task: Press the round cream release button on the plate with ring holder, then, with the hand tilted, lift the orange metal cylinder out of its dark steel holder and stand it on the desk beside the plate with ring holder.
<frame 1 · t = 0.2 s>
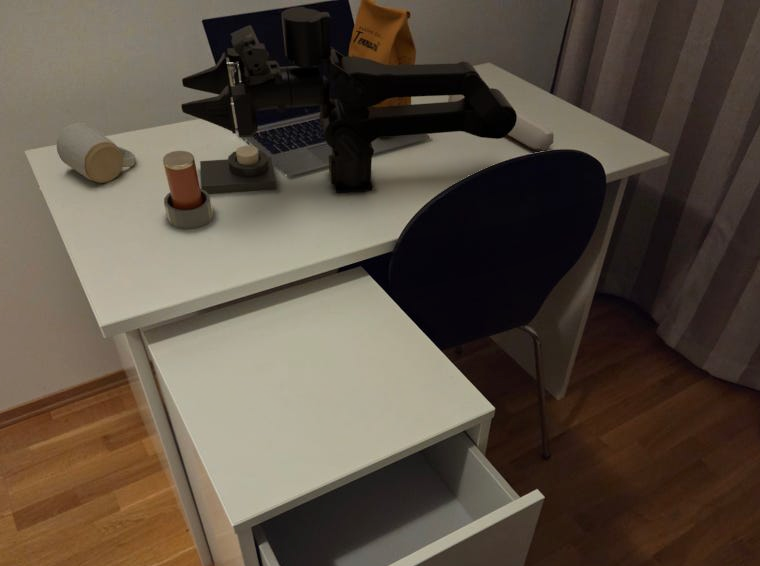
hand: (182, 95, 94), 16 cm above the table, tool horizontal, fingers open, 9 cm apart
plate with ring holder: (238, 180, 109), on the table
capsule holder: (191, 218, 101), on the table
orange metal cylinder: (190, 216, 100), resting on capsule holder
release button: (247, 155, 107), point 4 cm above the table, slide at 0.1 cm
tube: (499, 129, 128), on the table
ceramic mug: (104, 171, 108), on the table
coffee package: (377, 123, 126), on the table
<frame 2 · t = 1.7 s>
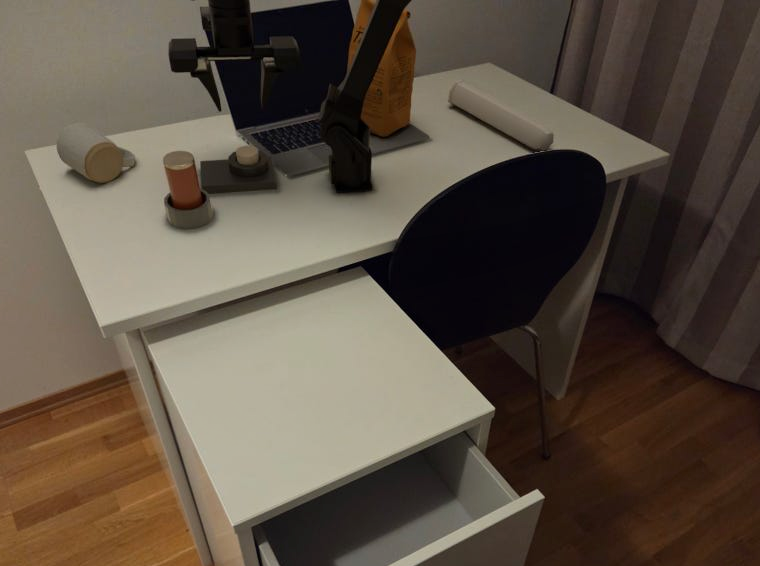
hand: (241, 109, 101), 12 cm above the table, tool pointing down, fingers open, 6 cm apart
nothing on the table moved.
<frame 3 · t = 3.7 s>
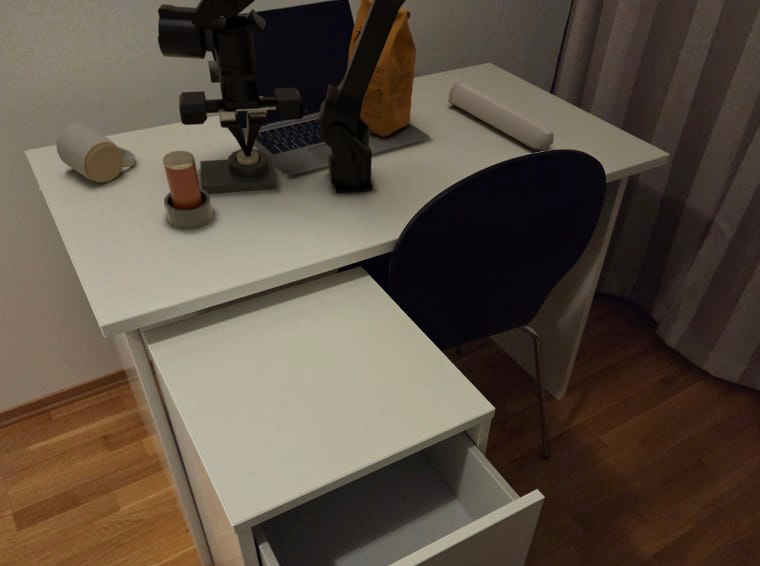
hand: (247, 155, 107), 4 cm above the table, tool pointing down, fingers closed, pressing on release button
release button: (248, 159, 107), point 3 cm above the table, slide at -0.6 cm, touching gripper
everything else where it was.
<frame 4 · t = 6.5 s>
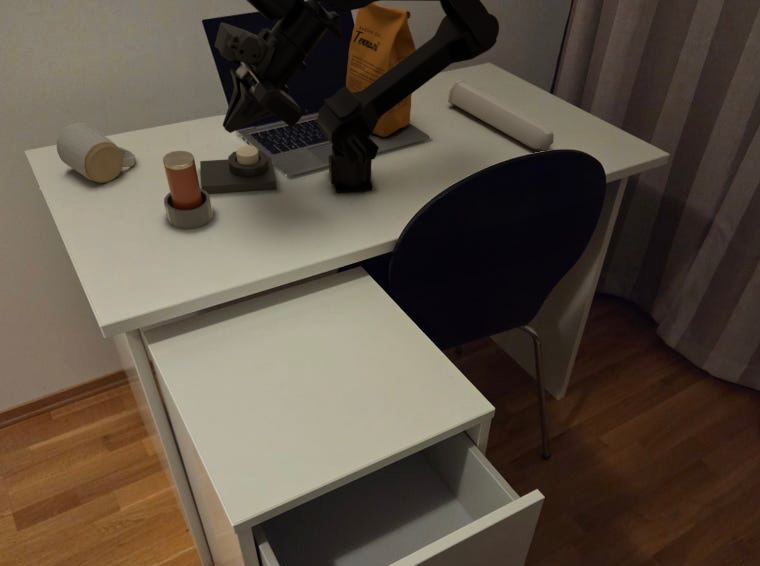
hand: (226, 129, 94), 13 cm above the table, tool tilted 45°, fingers closed
release button: (247, 155, 107), point 4 cm above the table, slide at 0.1 cm
everything else where it was.
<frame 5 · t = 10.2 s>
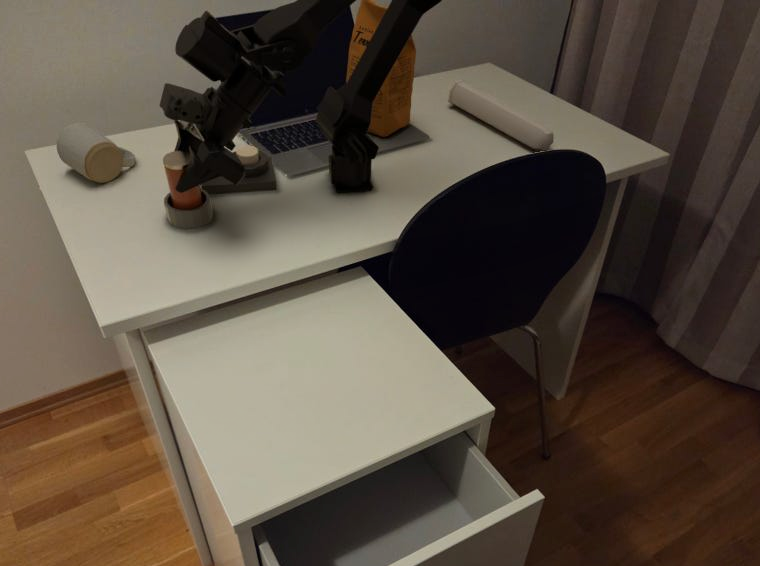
hand: (173, 183, 95), 7 cm above the table, tool tilted 45°, fingers closed on orange metal cylinder, 4 cm apart
orange metal cylinder: (190, 216, 100), resting on capsule holder, touching gripper
everything else where it was.
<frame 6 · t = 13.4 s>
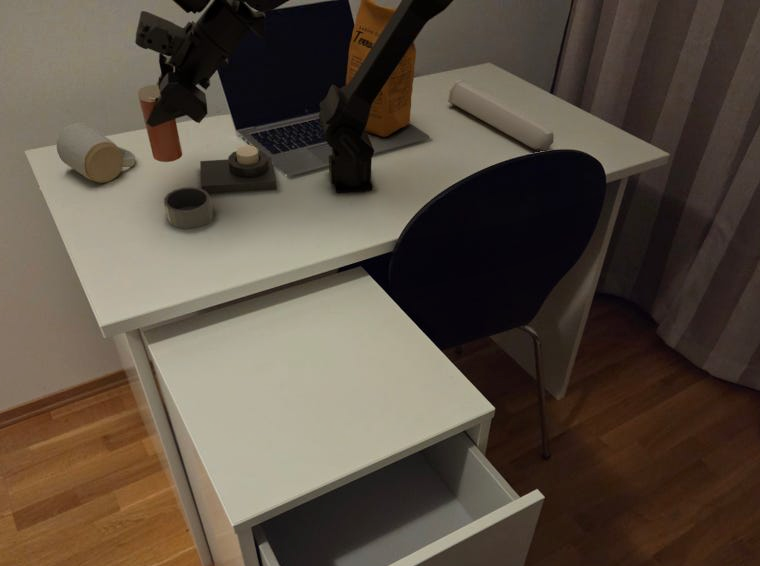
hand: (149, 117, 94), 14 cm above the table, tool tilted 45°, fingers closed on orange metal cylinder, 4 cm apart
orange metal cylinder: (167, 154, 99), point 7 cm above the table, touching gripper
everything else where it was.
when the fingers open (6 cm above the table, at t = 16.4 s): orange metal cylinder stays where it is, on the table.
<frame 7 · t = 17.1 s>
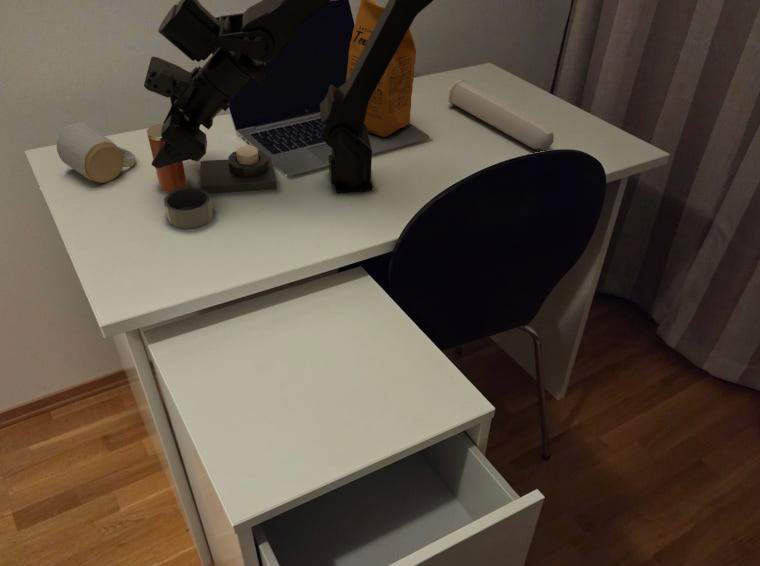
hand: (157, 151, 101), 7 cm above the table, tool tilted 45°, fingers open, 9 cm apart
orange metal cylinder: (174, 186, 106), on the table
everything else where it was.
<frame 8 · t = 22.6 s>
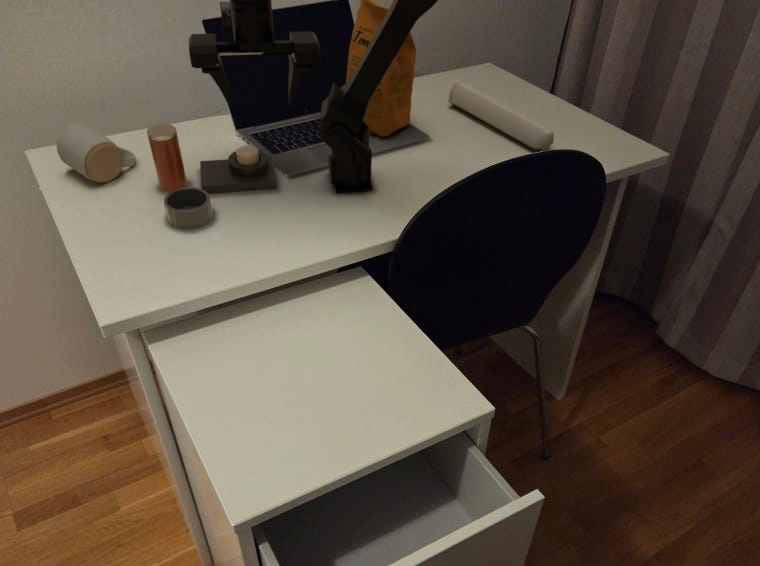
hand: (260, 105, 100), 13 cm above the table, tool pointing down, fingers open, 9 cm apart
nothing on the table moved.
at the end: release button pushed in 1.0 cm at the most during the clip, back to where it started at the end; orange metal cylinder 0.1 cm from the target spot, on the table; orange metal cylinder tilted 0° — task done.
